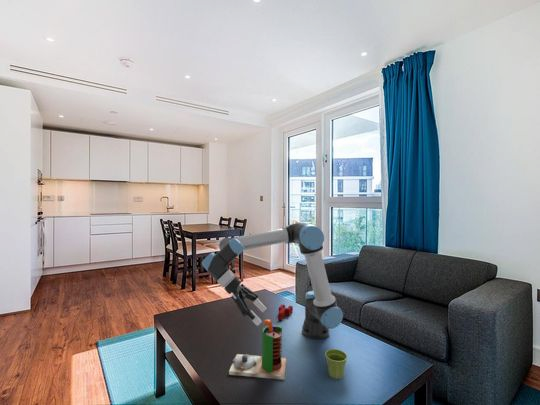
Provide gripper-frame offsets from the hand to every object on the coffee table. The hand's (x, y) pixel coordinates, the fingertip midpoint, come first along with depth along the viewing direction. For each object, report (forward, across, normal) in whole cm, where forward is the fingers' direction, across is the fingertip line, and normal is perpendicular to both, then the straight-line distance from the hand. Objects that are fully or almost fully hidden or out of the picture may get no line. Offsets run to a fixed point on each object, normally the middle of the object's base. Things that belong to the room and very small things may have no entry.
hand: (262, 316), depth 124 cm
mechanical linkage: (+20, -55, -14) cm, 60 cm away
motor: (+18, 0, -12) cm, 22 cm away
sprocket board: (+15, 0, -18) cm, 23 cm away
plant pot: (+40, 0, +6) cm, 40 cm away
